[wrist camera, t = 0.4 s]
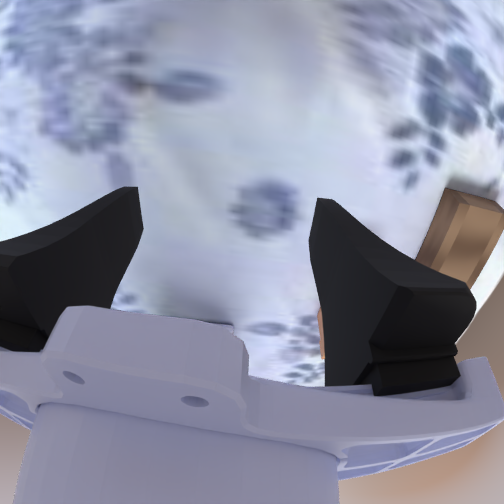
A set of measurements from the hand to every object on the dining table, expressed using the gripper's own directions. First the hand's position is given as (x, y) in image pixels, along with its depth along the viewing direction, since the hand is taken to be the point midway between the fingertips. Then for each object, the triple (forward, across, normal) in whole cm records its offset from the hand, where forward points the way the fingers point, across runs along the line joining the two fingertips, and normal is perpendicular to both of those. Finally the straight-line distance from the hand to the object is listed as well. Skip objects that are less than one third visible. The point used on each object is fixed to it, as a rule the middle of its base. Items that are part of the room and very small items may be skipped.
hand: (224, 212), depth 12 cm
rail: (+10, -20, +15) cm, 27 cm away
